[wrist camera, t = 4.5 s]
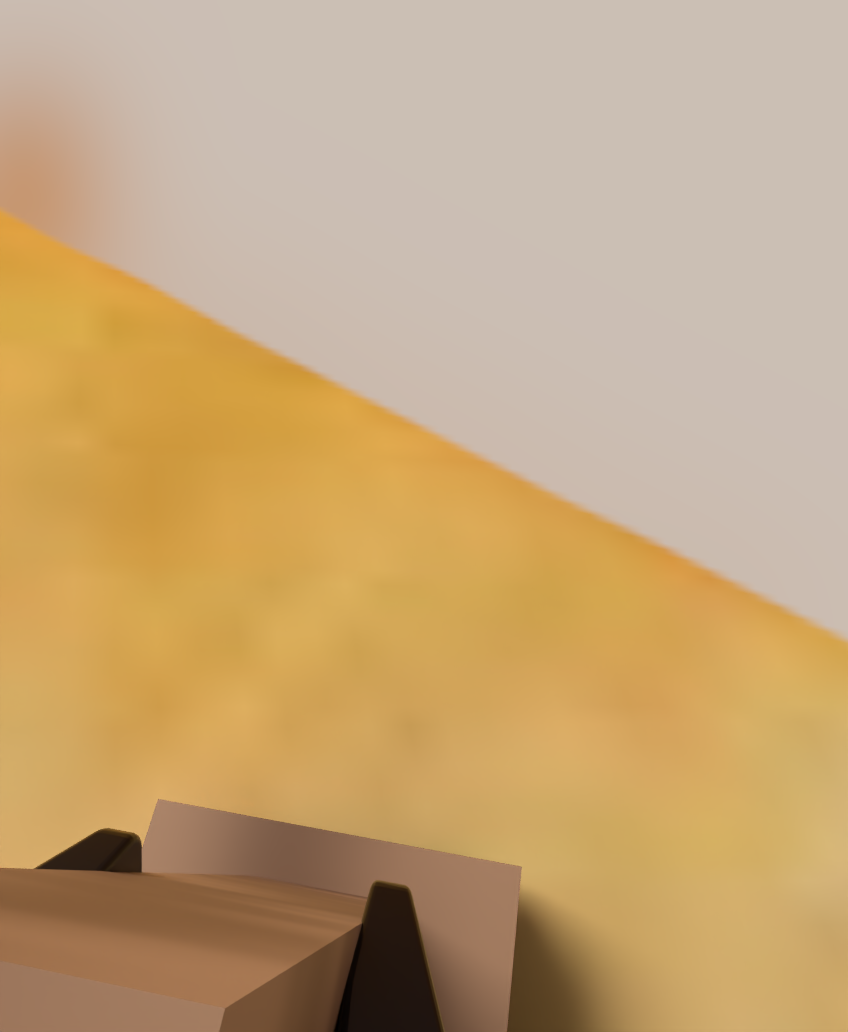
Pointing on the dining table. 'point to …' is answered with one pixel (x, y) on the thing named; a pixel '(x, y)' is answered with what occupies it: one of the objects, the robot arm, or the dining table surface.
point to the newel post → (243, 931)
